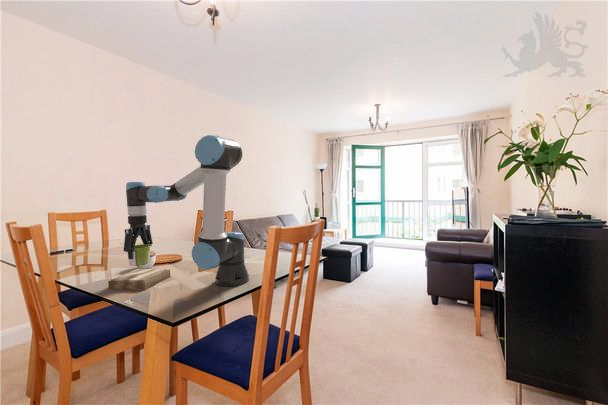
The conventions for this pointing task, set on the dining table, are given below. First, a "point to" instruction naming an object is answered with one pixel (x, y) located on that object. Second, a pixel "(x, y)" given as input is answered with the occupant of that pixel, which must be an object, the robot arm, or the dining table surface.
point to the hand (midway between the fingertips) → (139, 262)
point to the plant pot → (141, 254)
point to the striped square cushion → (139, 279)
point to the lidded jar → (149, 261)
